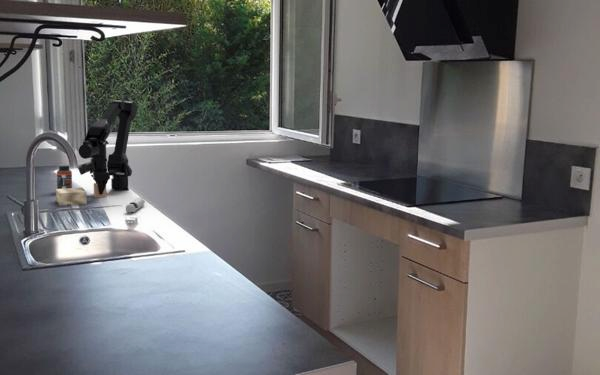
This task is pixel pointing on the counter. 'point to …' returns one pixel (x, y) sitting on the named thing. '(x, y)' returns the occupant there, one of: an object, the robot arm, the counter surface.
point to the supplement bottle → (64, 177)
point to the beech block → (71, 196)
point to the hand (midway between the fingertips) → (100, 193)
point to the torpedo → (135, 205)
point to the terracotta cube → (96, 191)
